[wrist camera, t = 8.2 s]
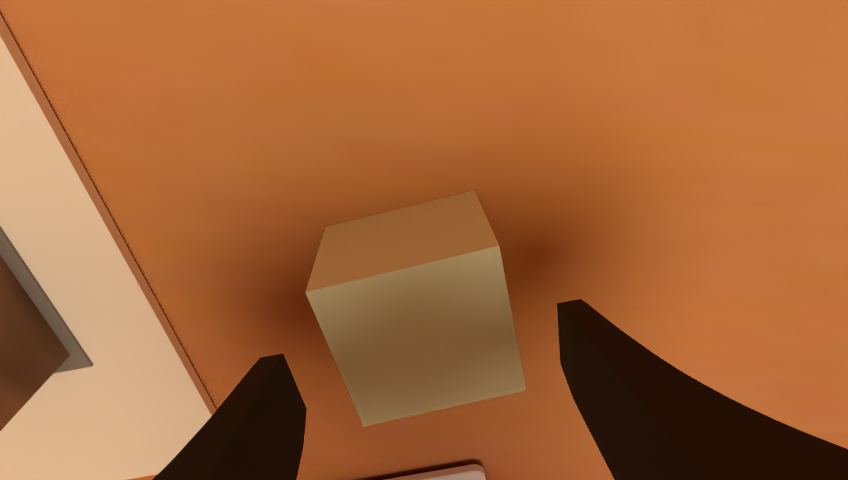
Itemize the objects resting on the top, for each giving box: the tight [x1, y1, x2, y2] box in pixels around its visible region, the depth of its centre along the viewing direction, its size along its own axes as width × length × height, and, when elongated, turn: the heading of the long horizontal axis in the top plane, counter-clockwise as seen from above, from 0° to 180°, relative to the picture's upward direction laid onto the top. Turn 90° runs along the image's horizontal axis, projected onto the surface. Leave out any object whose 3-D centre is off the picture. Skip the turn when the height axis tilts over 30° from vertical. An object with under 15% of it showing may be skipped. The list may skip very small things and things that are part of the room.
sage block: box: [305, 190, 527, 427], centre depth 15 cm, size 5×5×4 cm
